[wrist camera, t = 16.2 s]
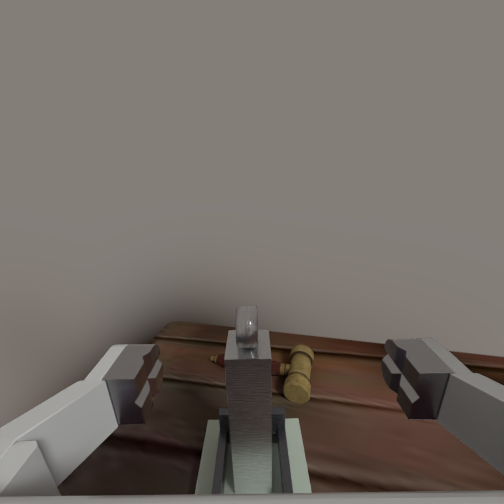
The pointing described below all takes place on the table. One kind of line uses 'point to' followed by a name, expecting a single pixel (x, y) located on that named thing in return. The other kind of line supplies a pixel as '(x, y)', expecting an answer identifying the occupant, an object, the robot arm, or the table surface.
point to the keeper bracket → (283, 457)
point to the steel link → (249, 403)
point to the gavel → (290, 373)
